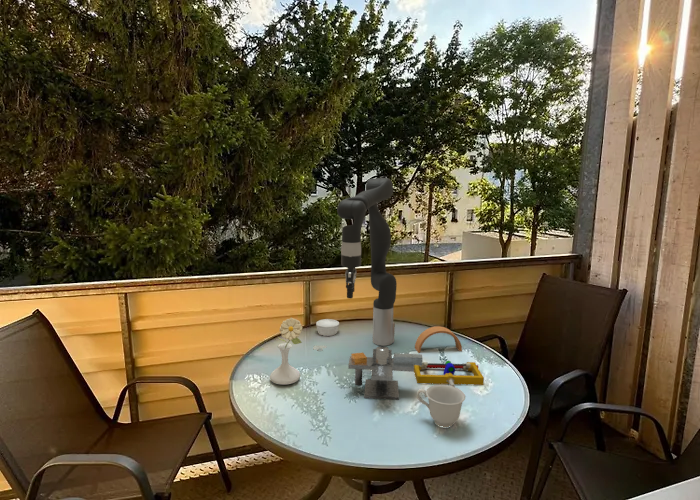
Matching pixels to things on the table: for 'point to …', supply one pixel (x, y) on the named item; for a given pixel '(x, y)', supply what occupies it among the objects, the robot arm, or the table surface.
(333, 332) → the ramekin
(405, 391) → the table surface
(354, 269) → the robot arm
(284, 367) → the flower in vase
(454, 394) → the teacup
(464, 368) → the mechanical clamp
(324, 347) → the mounting bracket
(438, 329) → the arch
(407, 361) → the metal cross stand
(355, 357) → the pin
